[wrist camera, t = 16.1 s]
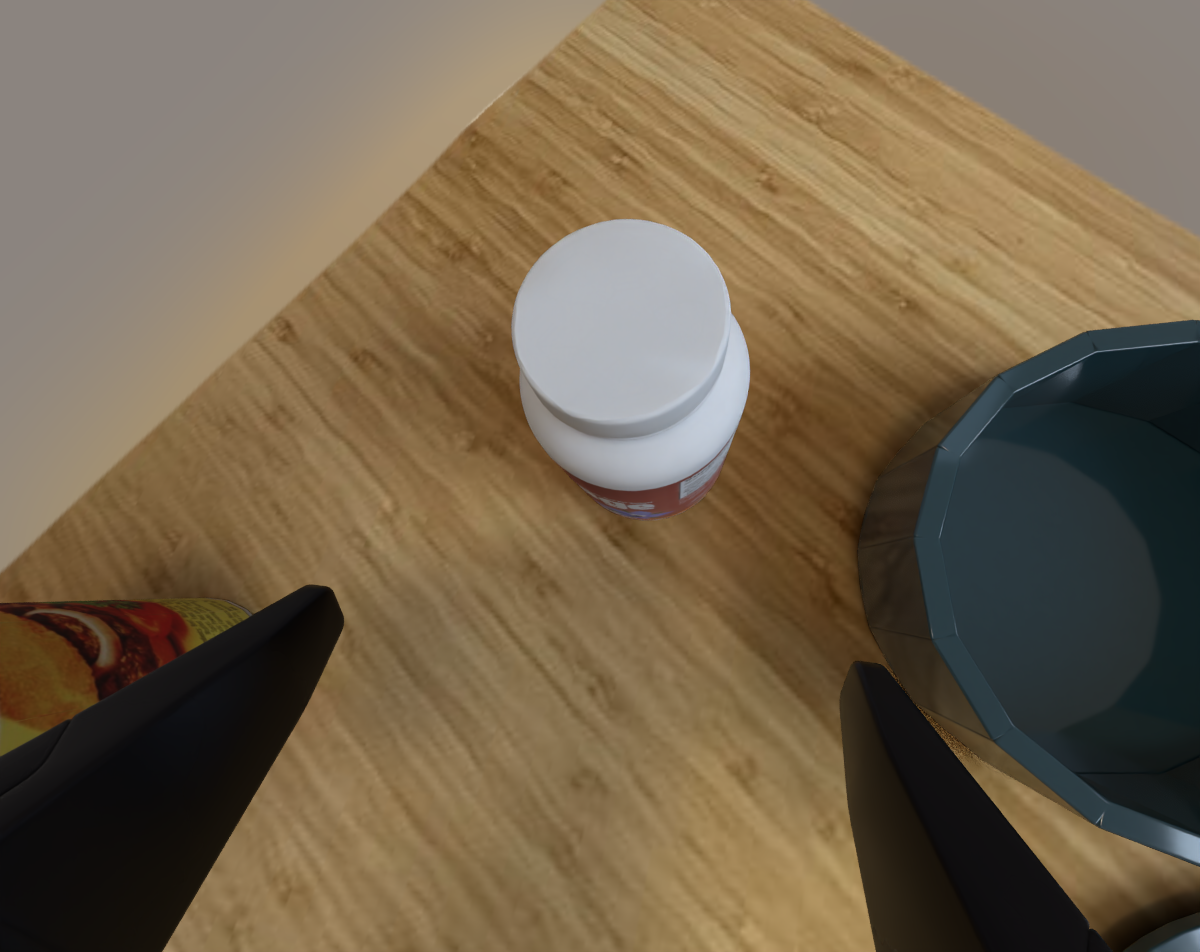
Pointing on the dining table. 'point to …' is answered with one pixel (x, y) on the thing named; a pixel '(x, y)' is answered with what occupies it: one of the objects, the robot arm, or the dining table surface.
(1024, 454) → the pot
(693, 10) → the dining table surface
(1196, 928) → the lid
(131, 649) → the canned food
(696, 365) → the pill bottle
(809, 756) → the dining table surface
